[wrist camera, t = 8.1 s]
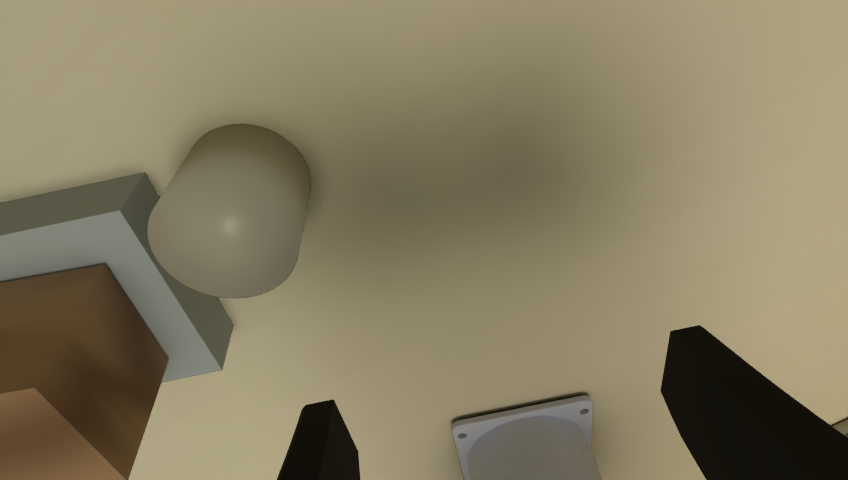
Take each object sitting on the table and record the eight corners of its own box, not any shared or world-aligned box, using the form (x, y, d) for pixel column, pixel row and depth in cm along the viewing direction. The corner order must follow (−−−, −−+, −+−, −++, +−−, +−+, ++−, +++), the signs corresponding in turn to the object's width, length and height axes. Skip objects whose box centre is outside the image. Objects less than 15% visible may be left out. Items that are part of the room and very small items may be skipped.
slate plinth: (235, 318, 24) (222, 370, 21) (65, 353, 24) (33, 409, 21) (149, 165, 19) (119, 210, 16) (-63, 211, 19) (-123, 261, 17)
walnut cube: (169, 358, 20) (127, 481, 17) (43, 381, 20) (-29, 510, 16) (104, 264, 17) (34, 387, 13) (-44, 290, 17) (-158, 422, 13)
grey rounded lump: (330, 209, 20) (322, 275, 17) (227, 243, 21) (200, 313, 17) (276, 106, 17) (254, 160, 14) (160, 148, 18) (115, 209, 15)
